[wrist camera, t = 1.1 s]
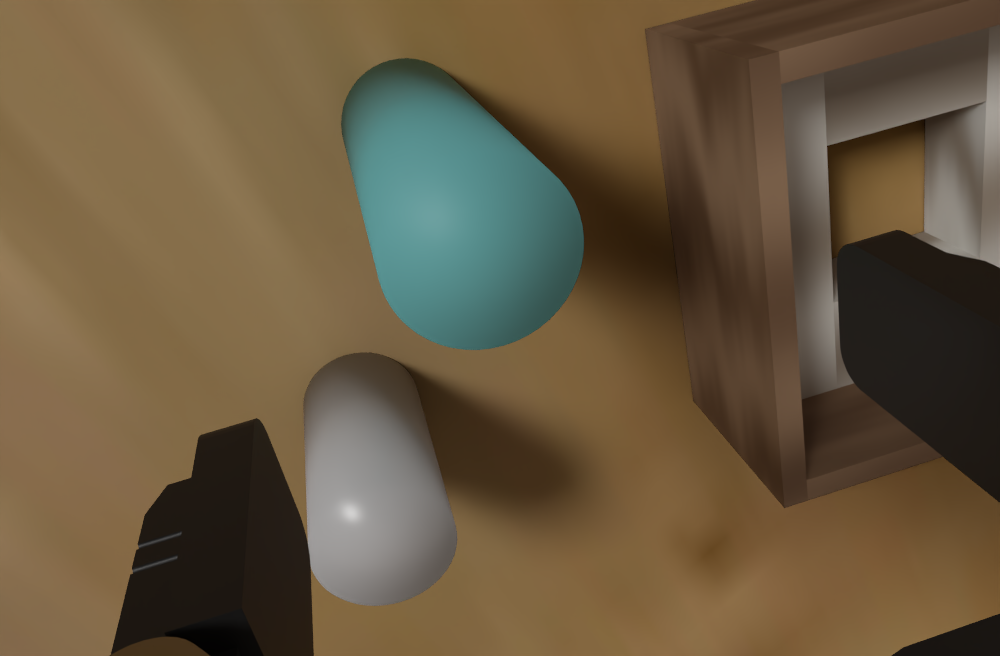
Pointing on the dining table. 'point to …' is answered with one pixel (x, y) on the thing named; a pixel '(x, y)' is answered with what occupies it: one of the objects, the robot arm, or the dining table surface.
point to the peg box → (810, 206)
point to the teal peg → (457, 210)
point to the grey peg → (373, 484)
